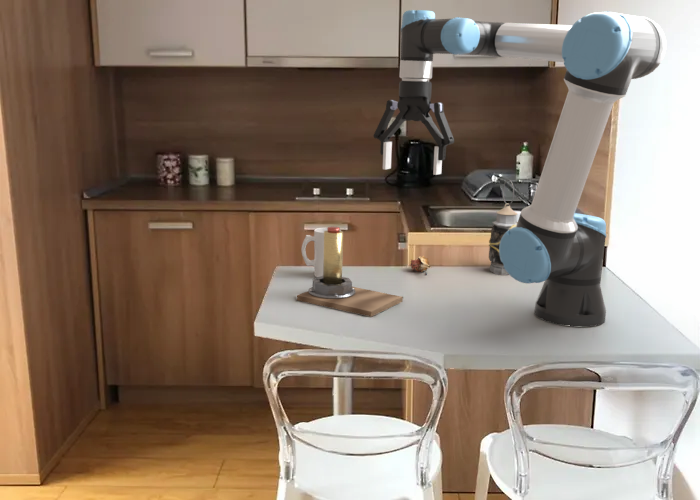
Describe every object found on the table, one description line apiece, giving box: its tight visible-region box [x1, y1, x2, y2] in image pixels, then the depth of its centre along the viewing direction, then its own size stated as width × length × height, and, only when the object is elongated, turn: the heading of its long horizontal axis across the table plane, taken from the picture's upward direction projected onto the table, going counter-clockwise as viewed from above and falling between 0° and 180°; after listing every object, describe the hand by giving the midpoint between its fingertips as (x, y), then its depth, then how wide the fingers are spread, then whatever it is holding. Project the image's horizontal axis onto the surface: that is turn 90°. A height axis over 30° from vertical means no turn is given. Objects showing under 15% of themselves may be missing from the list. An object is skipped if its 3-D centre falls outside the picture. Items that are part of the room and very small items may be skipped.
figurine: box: [409, 255, 432, 276], centre depth 204 cm, size 14×5×4 cm, turn 28°
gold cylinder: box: [323, 226, 344, 284], centre depth 178 cm, size 4×4×15 cm
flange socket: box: [307, 276, 356, 299], centre depth 180 cm, size 11×11×3 cm
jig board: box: [296, 286, 404, 317], centre depth 178 cm, size 20×14×1 cm
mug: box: [301, 227, 342, 278], centre depth 197 cm, size 10×7×12 cm, turn 104°
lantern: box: [488, 179, 518, 276], centre depth 205 cm, size 9×8×25 cm
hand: (411, 171), depth 183 cm, fingers open, 13 cm apart
